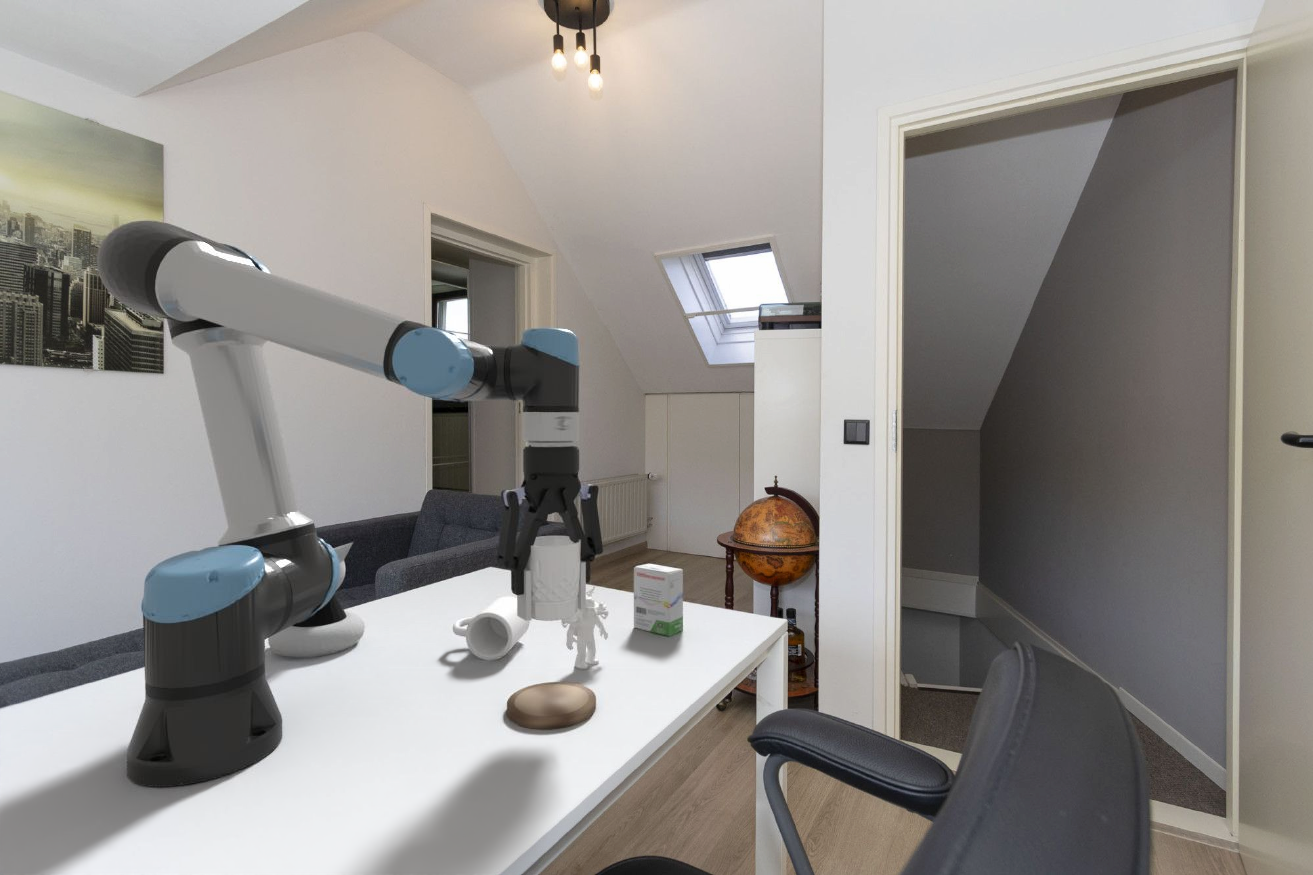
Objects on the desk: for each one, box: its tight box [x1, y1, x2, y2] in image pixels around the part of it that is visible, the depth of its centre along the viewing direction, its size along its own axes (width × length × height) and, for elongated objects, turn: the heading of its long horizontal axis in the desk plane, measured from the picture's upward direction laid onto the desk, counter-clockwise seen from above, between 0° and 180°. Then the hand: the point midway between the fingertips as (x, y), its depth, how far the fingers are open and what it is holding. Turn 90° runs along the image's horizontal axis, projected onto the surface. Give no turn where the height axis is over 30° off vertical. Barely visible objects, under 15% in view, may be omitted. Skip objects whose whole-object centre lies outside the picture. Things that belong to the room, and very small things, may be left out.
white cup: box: [526, 535, 581, 622], centre depth 88 cm, size 8×8×10 cm
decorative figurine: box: [267, 541, 366, 659], centre depth 112 cm, size 15×15×20 cm
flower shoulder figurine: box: [560, 586, 609, 670], centre depth 104 cm, size 9×4×12 cm, turn 137°
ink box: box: [633, 563, 684, 637], centre depth 122 cm, size 8×5×12 cm, turn 53°
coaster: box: [506, 681, 597, 730], centre depth 88 cm, size 12×12×1 cm
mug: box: [452, 596, 531, 661], centre depth 111 cm, size 12×10×8 cm
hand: (552, 612), depth 88 cm, fingers closed on white cup, 7 cm apart
